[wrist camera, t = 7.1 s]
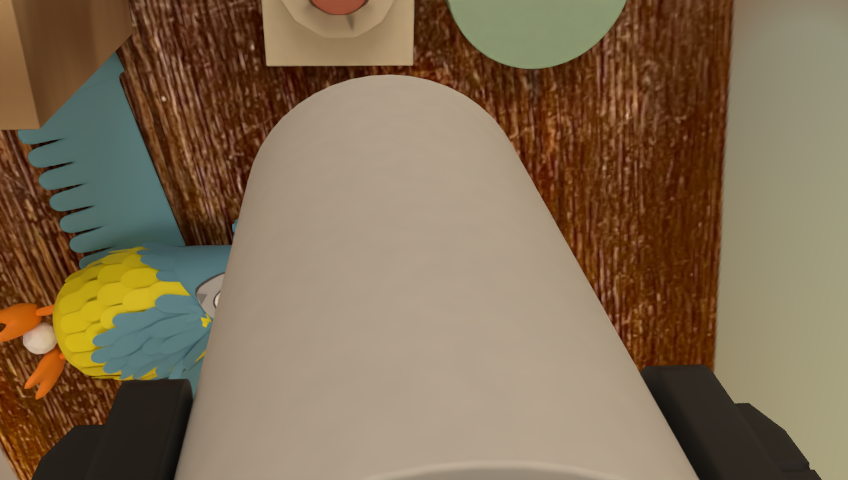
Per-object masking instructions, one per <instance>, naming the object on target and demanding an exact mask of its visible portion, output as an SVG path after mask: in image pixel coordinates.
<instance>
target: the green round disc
mask: <svg viewBox="0 0 848 480" xmlns="http://www.w3.org/2000/svg"><path fill="white" fill-rule="evenodd" d="M445 1H446V4H447V7H448V9H449V11H450V13H451V16H452V17H453V19H454V21H455V22H456V24H457V25H458V27H459V29H460V30H461V32H462V34H463V35H464V36H465V37H466V38H467V40H468V41H469V42H470V43H471V44H472V45H473V46H474V47H475V48H476V49H477V50H478V51H480V52H481V53H483V54H484V55H486V56H487V57H489V58H491V59H492V60H494V61H496V62H498V63H501V64H504V65H507V66H511V67H516V68H522V69H540V68H547V67H552V66H556V65H559V64H562V63H565V62H568V61H570V60H572V59H574V58H576V57H578V56H580V55H581V54H583V53H584V52H586V51H587V50H589V49H590V48H591V47H592V46H594V45H595V44H596V43H597V42H598V41H599V40H600V39H601V38H602V37H603V36H604V35H605V34H606V33H607V32H608V31H609V29H610V28H611V27H612V26H613V24H614V23H615V21H616V20H617V18H618V16H619V15H620V13H621V11H622V9H623V7H624V5H625V2H626V0H445Z"/></svg>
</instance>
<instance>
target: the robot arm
mask: <svg viewBox="0 0 848 480" xmlns="http://www.w3.org/2000/svg"><path fill="white" fill-rule="evenodd" d="M640 375H641V377H642V378H643V380H644V382H645V384H646V386H647V387H648V389H649V391H650V393H651V394H652V396H653V398H654V400H655V402H656V403H657V405H658V407H659V409H660V411H661V412H662V414H663V416H664V418H665V419H666V421H667V423H668V425H669V427H670V428H671V430H672V432H673V434H674V436H675V437H676V439H677V441H678V443H679V445H680V446H681V448H682V450H683V452H684V453H685V455H686V457H687V459H688V461H689V462H690V464H691V466H692V468H693V470H694V471H695V473H696V475H697V477H698V478H699V480H821V478H820V477H819V475H818V474H817V473H816V471H815V470H810V468H809V462H808V461H807V459H806V458H805V457H804V455H803V454H802V453H801V451H800V450H799V449H798V447H797V446H796V445H795V443H794V442H793V441H792V439H791V438H790V437H789V435H788V434H787V433H786V431H785V430H784V429H782V428H781V427H780V426H778V425H777V424H776V423H774V422H773V421H772V420H770V419H769V418H768V417H766V416H765V415H764V414H762V413H761V412H760V411H758V410H757V409H756V408H755V407H753V406H752V405H751V404H749V403H738V404H734V402H733V401H732V400H731V398H730V397H729V395H728V394H727V392H726V391H725V389H724V388H723V387H722V385H721V383H720V382H719V381H718V379H717V378H716V376H715V375H714V373H713V372H712V371H711V370H710V369H709V368H708V367H707V366H705V365H671V366H647V367H645V368H644V369H643V370H642V371H641V373H640ZM192 404H193V392H192V387H191V383H190V381H189V380H188V379H159V380H127V381H124V382H123V383H122V384H121V386H120V388H119V390H118V393H117V395H116V398H115V400H114V403H113V406H112V408H111V411H110V413H109V416H108V418H107V421H106V424H105V425H82V426H74V427H73V428H72V429H71V430H70V431H69V432H68V433H67V434H66V435H65V436H64V437H63V438H62V439H61V440H60V441H59V442H58V443H57V444H56V445H55V446H54V447H53V448H52V449H51V450H50V451H48V452H47V453H46V454H45V455H44V456H43V457H42V458H41V460H40V462H39V464H38V467H37V469H36V471H35V473H34V475H33V477H32V479H31V480H174V476H175V472H176V468H177V464H178V460H179V456H180V452H181V448H182V444H183V440H184V436H185V432H186V428H187V424H188V420H189V416H190V412H191V408H192Z"/></svg>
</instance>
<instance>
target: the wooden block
mask: <svg viewBox="0 0 848 480" xmlns="http://www.w3.org/2000/svg"><path fill="white" fill-rule="evenodd" d="M132 34H133V29H132V22H131V16H130V9H129V3H128V0H0V130H34V129H40V128H41V127H42V126H43V125H44V124H45V123H46V122H47V121H48V120H49V119H50V118H51V117H52V116H53V115H54V114H55V113H56V112H57V111H58V110H59V109H60V108H61V107H62V106H63V105H64V104H65V103H66V102H67V101H68V100H69V98H70V97H71V96H72V95H73V94H74V93H75V92H76V91H77V90H78V89H79V88H80V87H81V86H82V85H83V84H84V83H85V82H86V81H87V80H88V79H89V78H90V77H91V76H92V75H93V74H94V73H95V72H96V71H97V70H98V69H99V68H100V67H101V66H102V65H103V64H104V62H105V61H106V60H107V59H108V58H109V57H110V56H111V55H112V54H113V53H114V52H115V51H116V50H117V49H118V48H119V47H120V46H121V45H122V44H123V43H124V42H125V41H126V40H127V39H128V38H129V37H130V36H131V35H132Z"/></svg>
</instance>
